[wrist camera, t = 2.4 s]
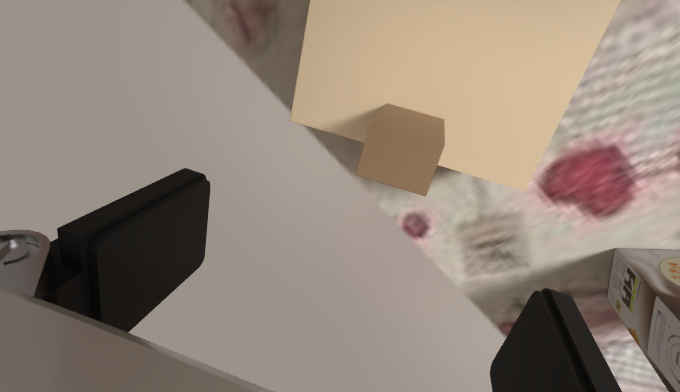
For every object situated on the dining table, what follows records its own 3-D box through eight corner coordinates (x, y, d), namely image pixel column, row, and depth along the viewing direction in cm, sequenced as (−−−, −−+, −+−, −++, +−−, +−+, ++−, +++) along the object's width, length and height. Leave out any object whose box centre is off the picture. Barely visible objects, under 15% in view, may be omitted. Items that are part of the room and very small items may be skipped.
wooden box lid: (637, -42, 20) (740, -87, 13) (523, 188, 26) (552, 240, 19) (331, -104, 22) (281, -170, 15) (292, 119, 28) (245, 142, 21)
